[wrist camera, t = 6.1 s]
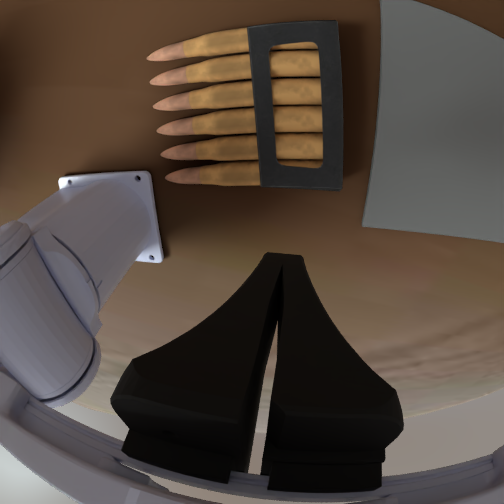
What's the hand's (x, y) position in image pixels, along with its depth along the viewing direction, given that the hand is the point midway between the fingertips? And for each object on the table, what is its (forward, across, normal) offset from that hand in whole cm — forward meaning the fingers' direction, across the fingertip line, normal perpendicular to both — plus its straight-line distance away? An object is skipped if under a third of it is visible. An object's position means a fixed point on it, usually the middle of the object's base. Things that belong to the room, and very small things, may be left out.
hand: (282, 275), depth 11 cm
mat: (+11, -13, -6) cm, 18 cm away
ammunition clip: (+9, -3, -6) cm, 11 cm away
